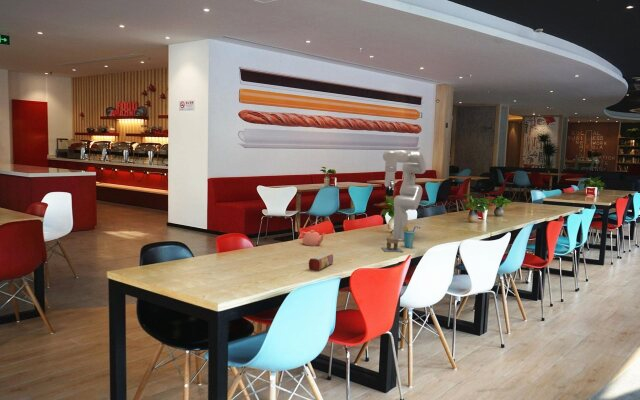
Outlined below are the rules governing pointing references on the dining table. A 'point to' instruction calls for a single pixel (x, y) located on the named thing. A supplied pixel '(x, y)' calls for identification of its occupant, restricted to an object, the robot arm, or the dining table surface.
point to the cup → (408, 236)
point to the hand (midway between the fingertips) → (389, 195)
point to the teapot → (312, 238)
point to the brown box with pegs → (392, 240)
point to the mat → (391, 250)
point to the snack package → (320, 261)
